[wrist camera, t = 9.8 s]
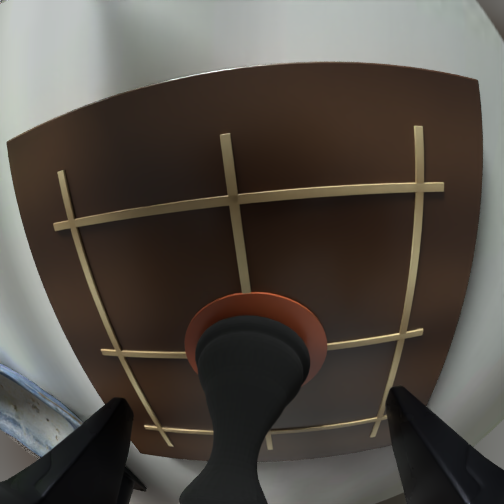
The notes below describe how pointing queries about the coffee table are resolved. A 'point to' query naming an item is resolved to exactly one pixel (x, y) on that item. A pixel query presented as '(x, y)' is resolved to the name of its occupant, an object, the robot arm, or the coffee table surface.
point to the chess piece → (243, 401)
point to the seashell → (32, 413)
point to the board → (260, 238)
